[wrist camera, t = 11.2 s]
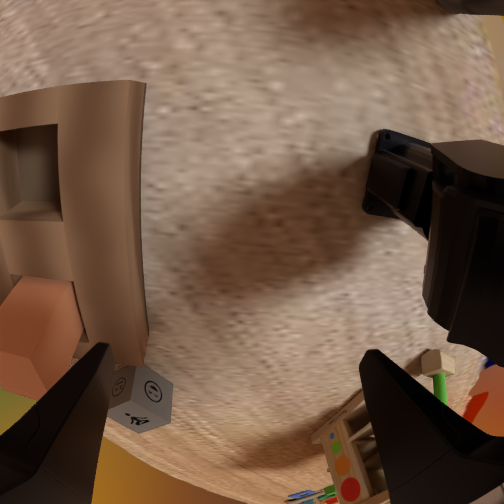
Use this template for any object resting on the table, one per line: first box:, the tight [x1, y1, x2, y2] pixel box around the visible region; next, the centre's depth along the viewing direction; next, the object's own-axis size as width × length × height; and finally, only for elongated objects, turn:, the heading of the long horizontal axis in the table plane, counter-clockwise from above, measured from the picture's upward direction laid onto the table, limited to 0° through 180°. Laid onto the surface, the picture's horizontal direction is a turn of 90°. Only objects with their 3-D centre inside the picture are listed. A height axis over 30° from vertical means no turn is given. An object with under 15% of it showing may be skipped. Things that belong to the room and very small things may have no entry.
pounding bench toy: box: [310, 349, 455, 504], centre depth 29 cm, size 23×14×18 cm, turn 155°
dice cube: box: [107, 364, 173, 434], centre depth 26 cm, size 5×5×5 cm
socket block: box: [0, 80, 149, 367], centre depth 17 cm, size 14×20×4 cm
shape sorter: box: [285, 484, 338, 504], centre depth 66 cm, size 34×19×5 cm, turn 18°
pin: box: [0, 276, 85, 400], centre depth 16 cm, size 4×4×10 cm
